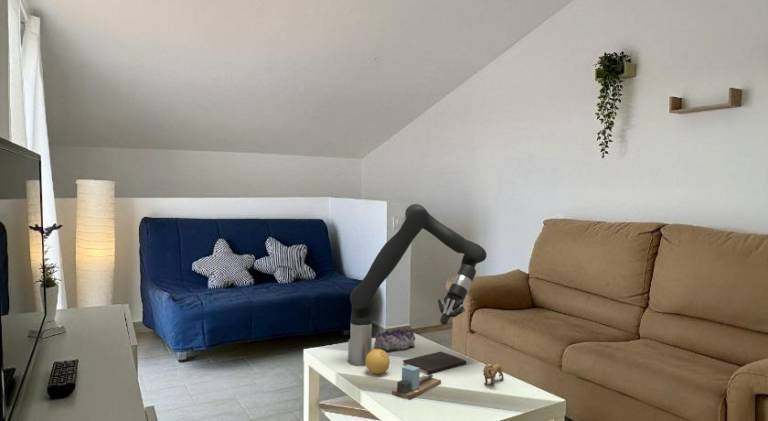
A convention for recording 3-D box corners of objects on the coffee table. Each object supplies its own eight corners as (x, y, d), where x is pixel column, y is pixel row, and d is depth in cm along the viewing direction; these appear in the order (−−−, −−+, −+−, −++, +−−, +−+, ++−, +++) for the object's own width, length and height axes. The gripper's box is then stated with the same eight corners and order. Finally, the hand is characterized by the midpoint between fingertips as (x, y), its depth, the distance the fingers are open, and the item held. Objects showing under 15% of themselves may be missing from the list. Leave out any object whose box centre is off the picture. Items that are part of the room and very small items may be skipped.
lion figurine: (493, 390, 210) (494, 366, 210) (480, 387, 213) (480, 364, 212) (505, 378, 223) (506, 356, 222) (493, 376, 225) (493, 354, 225)
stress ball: (382, 379, 219) (383, 354, 218) (360, 374, 223) (361, 350, 223) (393, 371, 228) (394, 347, 227) (372, 367, 232) (373, 344, 232)
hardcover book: (402, 365, 237) (402, 360, 237) (440, 356, 252) (440, 351, 251) (427, 376, 225) (428, 370, 225) (466, 365, 239) (466, 360, 239)
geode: (406, 342, 271) (409, 322, 270) (419, 351, 262) (421, 331, 260) (370, 345, 261) (372, 325, 260) (381, 355, 252) (384, 335, 250)
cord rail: (392, 394, 203) (392, 380, 203) (423, 379, 220) (424, 366, 220) (409, 399, 199) (410, 385, 198) (440, 383, 215) (441, 370, 215)
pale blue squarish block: (401, 386, 206) (401, 367, 205) (407, 384, 209) (408, 364, 208) (413, 390, 202) (413, 370, 202) (419, 387, 206) (419, 367, 205)
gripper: (443, 279, 234) (425, 315, 227) (470, 287, 226) (453, 324, 219) (449, 288, 239) (432, 323, 232) (476, 295, 231) (459, 332, 224)
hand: (442, 323), depth 226 cm, fingers closed
